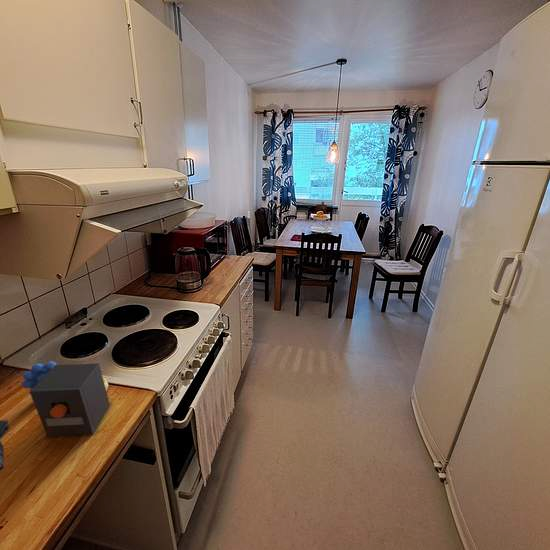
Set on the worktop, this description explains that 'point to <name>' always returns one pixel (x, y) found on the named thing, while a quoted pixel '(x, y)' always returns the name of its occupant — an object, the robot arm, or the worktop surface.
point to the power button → (58, 411)
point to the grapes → (36, 374)
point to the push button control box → (71, 399)
